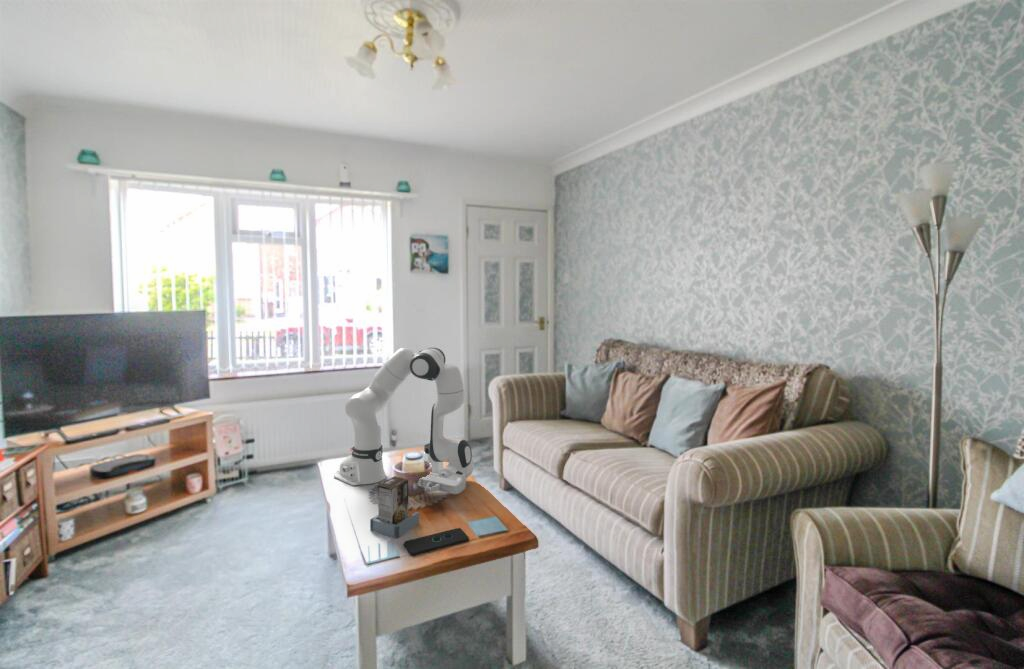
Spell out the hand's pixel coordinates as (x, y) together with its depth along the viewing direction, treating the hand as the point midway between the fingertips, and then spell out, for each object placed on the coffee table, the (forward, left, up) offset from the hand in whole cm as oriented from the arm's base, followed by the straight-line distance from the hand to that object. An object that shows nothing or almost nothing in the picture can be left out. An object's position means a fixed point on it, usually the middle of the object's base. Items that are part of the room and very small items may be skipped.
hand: (427, 490), depth 186 cm
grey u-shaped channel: (0, -19, -6) cm, 19 cm away
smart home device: (+19, -21, -7) cm, 29 cm away
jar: (-18, +29, -6) cm, 35 cm away
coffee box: (-1, -19, -6) cm, 20 cm away
